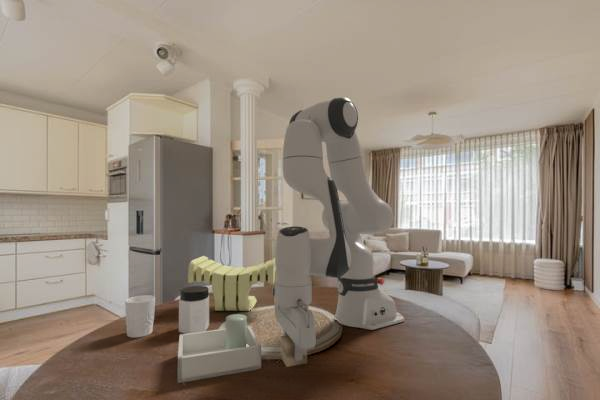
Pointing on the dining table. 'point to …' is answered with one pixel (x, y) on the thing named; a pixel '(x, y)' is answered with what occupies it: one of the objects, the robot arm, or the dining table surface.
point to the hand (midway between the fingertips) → (293, 353)
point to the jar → (193, 309)
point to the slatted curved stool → (231, 282)
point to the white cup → (139, 315)
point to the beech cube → (290, 352)
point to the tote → (215, 355)
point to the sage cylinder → (235, 331)
